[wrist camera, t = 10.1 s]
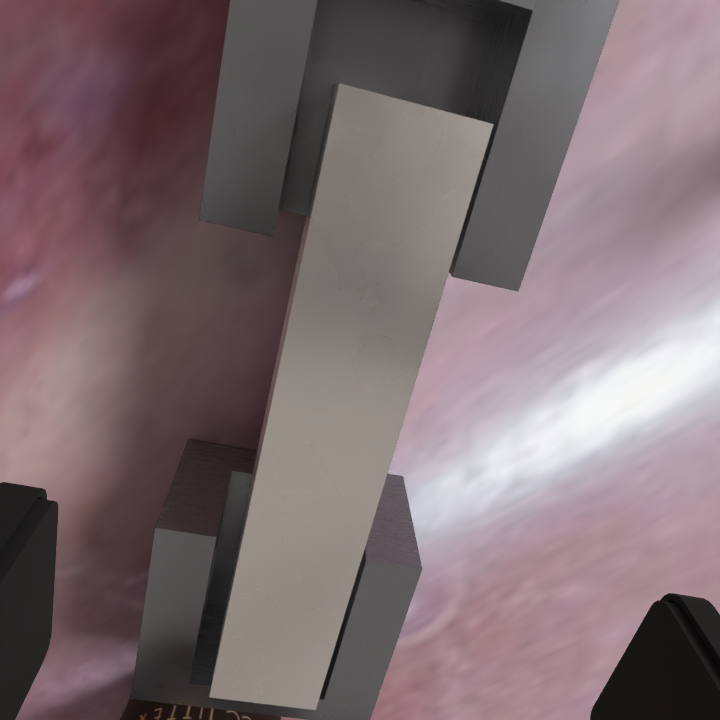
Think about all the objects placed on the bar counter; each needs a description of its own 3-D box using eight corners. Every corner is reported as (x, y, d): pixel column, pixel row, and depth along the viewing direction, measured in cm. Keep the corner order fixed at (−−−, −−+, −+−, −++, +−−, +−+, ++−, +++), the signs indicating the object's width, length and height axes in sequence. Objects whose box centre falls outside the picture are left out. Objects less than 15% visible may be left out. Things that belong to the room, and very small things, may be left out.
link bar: (333, 84, 17) (339, 83, 12) (439, 112, 18) (493, 124, 12) (236, 551, 23) (209, 697, 18) (317, 564, 24) (315, 710, 18)
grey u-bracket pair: (268, -75, 17) (248, -135, 12) (548, 7, 18) (626, -20, 13) (165, 588, 25) (130, 698, 21) (359, 616, 27) (367, 726, 22)
